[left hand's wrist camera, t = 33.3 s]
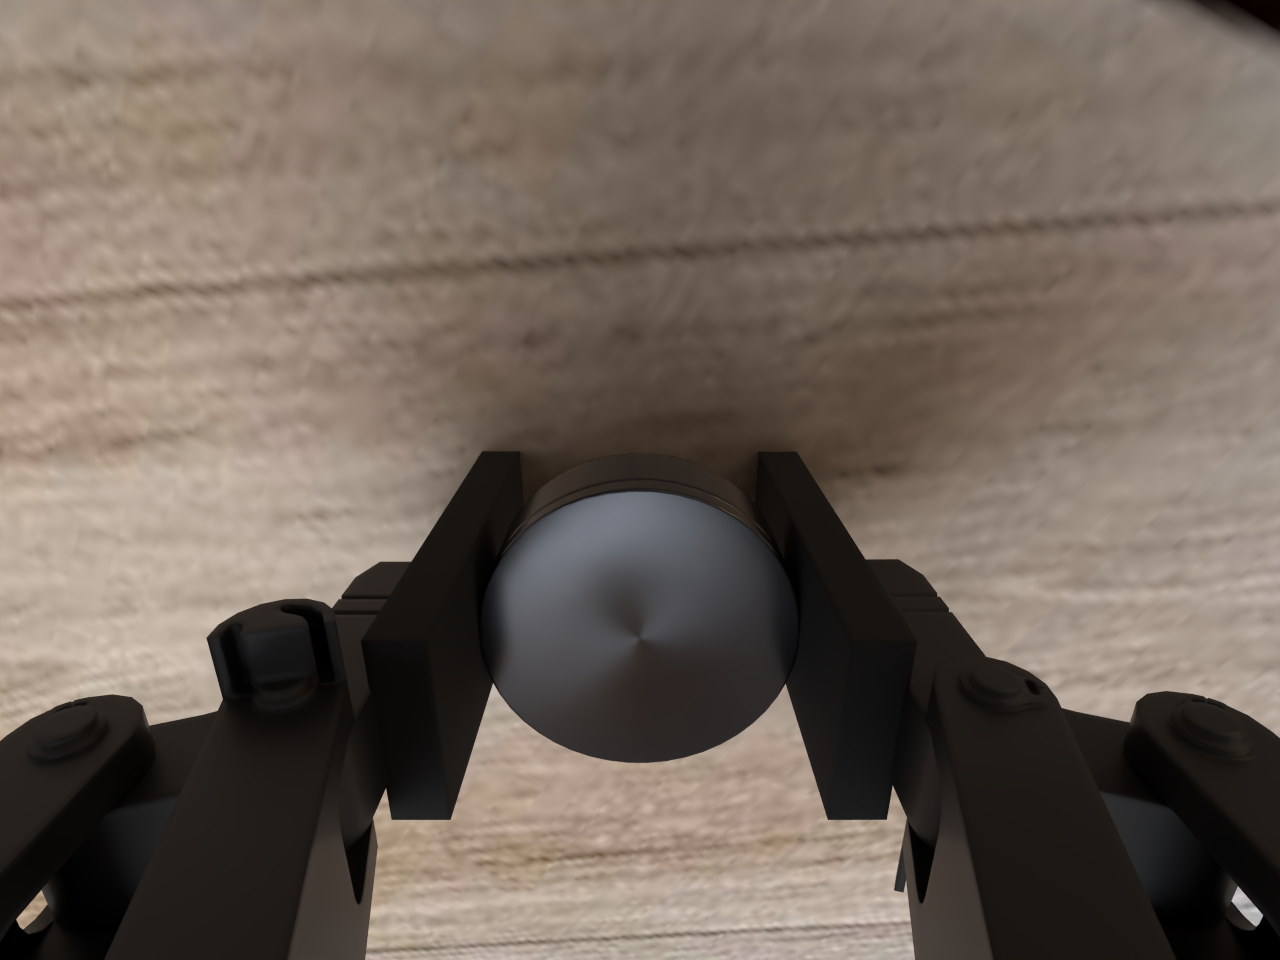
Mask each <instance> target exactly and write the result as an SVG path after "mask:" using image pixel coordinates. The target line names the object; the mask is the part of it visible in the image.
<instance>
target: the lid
mask: <svg viewBox="0 0 1280 960" xmlns="http://www.w3.org/2000/svg"><path fill="white" fill-rule="evenodd" d="M478 627H479V638H480V647H481V651H482V656H483V660H484V663H485V665H486V668H487V670H488V673H489V675H490V678H491V680H492V681H493V683H494V685H495V687H496V688H497V690H498V692H499V694H500V695H501V696H502V697H503V699H504V700H505V701H506V703H507V704H508V705H509V707H510V708H511V709H512V710H513V711H514V712H515V713H516V714H517V715H518V716H519V717H520V718H521V719H522V720H523V721H524V722H525V723H527V724H528V725H529V726H531V727H532V728H533V729H535V730H536V731H537V732H538V733H540V734H542V735H543V736H545V737H547V738H548V739H550V740H552V741H553V742H555V743H557V744H559V745H562V746H564V747H566V748H568V749H570V750H573V751H576V752H579V753H582V754H585V755H588V756H591V757H596V758H600V759H605V760H610V761H618V762H627V763H650V762H661V761H669V760H674V759H679V758H684V757H688V756H691V755H694V754H698V753H701V752H704V751H706V750H709V749H711V748H713V747H716V746H718V745H720V744H722V743H724V742H726V741H727V740H729V739H731V738H733V737H734V736H736V735H738V734H739V733H740V732H742V731H743V730H745V729H746V728H747V727H749V726H750V725H751V724H753V723H754V722H755V721H756V720H757V719H758V718H759V717H760V716H761V715H762V714H763V713H764V712H765V711H766V710H767V709H768V708H769V706H770V705H771V704H772V703H773V702H774V700H775V699H776V698H777V697H778V695H779V693H780V692H781V690H782V688H783V687H784V685H785V684H786V682H787V680H788V677H789V675H790V673H791V671H792V668H793V666H794V663H795V659H796V656H797V652H798V644H799V635H800V608H799V603H798V598H797V593H796V590H795V588H794V585H793V582H792V579H791V577H790V574H789V572H788V569H787V567H786V564H785V562H784V559H783V557H782V554H781V552H780V549H779V547H778V544H777V542H776V539H775V537H774V534H773V532H772V530H771V528H770V526H769V525H768V523H767V521H766V519H765V517H764V516H763V515H762V513H761V512H760V511H759V509H758V508H757V507H756V505H755V504H754V503H753V502H752V501H751V500H750V499H749V498H748V497H747V496H746V495H745V494H744V493H743V492H742V491H741V490H740V489H739V488H738V487H736V486H735V485H734V484H732V483H731V482H730V481H728V480H727V479H726V478H724V477H722V476H721V475H719V474H717V473H715V472H714V471H712V470H710V469H708V468H706V467H703V466H701V465H698V464H696V463H693V462H691V461H687V460H683V459H680V458H676V457H672V456H665V455H658V454H642V453H630V454H621V455H612V456H608V457H604V458H599V459H595V460H591V461H589V462H586V463H584V464H581V465H578V466H576V467H573V468H571V469H569V470H568V471H566V472H564V473H562V474H560V475H558V476H556V477H555V478H554V479H552V480H551V481H549V482H548V483H547V484H545V485H544V486H542V487H541V488H540V489H539V490H538V491H537V492H536V493H535V494H534V495H533V496H532V497H531V498H530V499H528V501H527V502H526V503H525V504H524V506H523V507H522V508H521V509H520V511H519V512H518V513H517V514H516V516H515V518H514V520H513V521H512V523H511V525H510V526H509V528H508V530H507V533H506V535H505V538H504V540H503V543H502V545H501V547H500V550H499V552H498V555H497V557H496V560H495V562H494V565H493V567H492V570H491V572H490V575H489V577H488V580H487V582H486V585H485V587H484V590H483V594H482V598H481V603H480V607H479V620H478Z"/></svg>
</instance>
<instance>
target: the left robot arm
mask: <svg viewBox="0 0 1280 960" xmlns="http://www.w3.org/2000/svg"><path fill="white" fill-rule="evenodd" d="M755 505H756V507H757V508H758V509H759V511H760V512H761V513H762V515H763V516H764V517H765V519H766V521H767V523H768V525H769V526H770V528H771V530H772V532H773V534H774V537H775V539H776V542H777V544H778V547H779V549H780V552H781V554H782V557H783V559H784V562H785V564H786V567H787V569H788V572H789V574H790V577H791V579H792V582H793V585H794V588H795V590H796V593H797V598H798V603H799V608H800V635H799V644H798V652H797V656H796V659H795V663H794V666H793V668H792V671H791V673H790V675H789V677H788V680H787V682H786V686H787V689H788V692H789V695H790V699H791V702H792V705H793V708H794V712H795V715H796V718H797V721H798V725H799V728H800V731H801V734H802V738H803V741H804V744H805V747H806V750H807V754H808V757H809V760H810V763H811V767H812V770H813V773H814V776H815V780H816V783H817V786H818V789H819V792H820V796H821V799H822V802H823V805H824V809H825V812H826V815H827V818H828V820H887V815H888V809H889V803H890V797H891V792H892V786H893V787H894V789H895V791H896V793H897V796H898V798H899V800H900V802H901V805H902V807H903V809H904V812H905V814H906V816H907V821H906V826H905V832H904V837H903V843H902V848H901V853H900V859H899V864H898V869H897V875H896V881H895V888H894V890H895V891H900V892H904V887H905V882H907V891H908V899H909V908H910V917H911V926H912V935H913V944H914V953H915V960H1280V738H1279V737H1278V736H1276V735H1275V734H1274V733H1273V732H1272V731H1270V730H1269V729H1267V728H1266V727H1264V726H1263V725H1261V724H1260V723H1258V722H1257V721H1255V720H1254V719H1253V718H1251V717H1250V716H1248V715H1246V714H1244V713H1242V712H1240V711H1237V710H1235V709H1233V708H1231V707H1229V706H1227V705H1226V704H1224V703H1222V702H1219V701H1216V700H1213V699H1210V698H1208V699H1207V698H1205V697H1203V696H1199V695H1194V694H1187V693H1178V692H1170V691H1164V692H1157V693H1150V694H1146V695H1145V696H1144V697H1142V698H1141V699H1140V700H1139V701H1137V702H1136V705H1135V709H1134V712H1133V715H1132V718H1131V721H1130V723H1129V722H1124V721H1119V720H1114V719H1109V718H1104V717H1099V716H1094V715H1089V714H1084V713H1079V712H1075V711H1071V710H1067V709H1063V708H1061V706H1060V704H1059V702H1058V699H1057V698H1056V696H1055V695H1054V694H1053V693H1052V691H1051V690H1050V689H1049V687H1048V686H1047V685H1046V684H1045V683H1044V682H1042V681H1041V680H1040V679H1038V678H1037V677H1035V676H1034V675H1033V674H1031V673H1030V672H1028V671H1026V670H1024V669H1022V668H1020V667H1017V666H1015V665H1013V664H1010V663H1008V662H1006V661H1002V660H997V659H993V658H989V657H986V656H985V655H984V653H983V652H982V651H981V650H980V648H979V647H978V646H977V644H976V643H975V642H974V640H973V639H972V638H971V637H970V635H969V634H968V633H967V631H966V630H965V629H964V627H963V626H962V625H961V624H960V622H959V621H958V620H957V618H956V617H955V616H954V614H953V613H952V612H949V608H948V607H947V605H946V604H945V603H944V601H943V600H942V599H941V598H940V597H937V592H936V591H935V590H934V588H933V587H932V586H931V585H930V583H929V582H928V581H927V579H926V578H925V577H924V576H923V575H922V574H921V573H919V572H918V571H916V570H914V569H913V568H911V567H910V566H908V565H906V564H905V563H903V562H902V561H900V560H899V559H877V560H865V558H864V556H863V555H862V553H861V552H860V550H859V549H858V547H857V545H856V544H855V542H854V541H853V539H852V538H851V536H850V535H849V533H848V531H847V530H846V528H845V527H844V525H843V524H842V522H841V521H840V519H839V517H838V516H837V514H836V513H835V511H834V510H833V508H832V506H831V505H830V503H829V502H828V500H827V499H826V497H825V496H824V494H823V492H822V491H821V489H820V488H819V486H818V485H817V483H816V482H815V480H814V478H813V477H812V475H811V474H810V472H809V471H808V469H807V467H806V466H805V464H804V463H803V461H802V460H801V458H800V457H799V455H798V453H797V452H759V458H758V473H757V488H756V502H755ZM522 507H523V493H522V478H521V463H520V452H482V453H481V454H480V456H479V457H478V459H477V461H476V462H475V464H474V465H473V467H472V468H471V470H470V471H469V473H468V475H467V476H466V478H465V479H464V481H463V482H462V484H461V485H460V487H459V489H458V490H457V492H456V493H455V495H454V496H453V498H452V499H451V501H450V503H449V504H448V506H447V507H446V509H445V510H444V512H443V513H442V515H441V517H440V518H439V520H438V521H437V523H436V524H435V526H434V527H433V529H432V531H431V532H430V534H429V535H428V537H427V538H426V540H425V541H424V543H423V545H422V546H421V548H420V549H419V551H418V552H417V554H416V555H415V557H414V559H413V560H412V562H379V563H378V564H376V565H374V566H373V567H371V568H370V569H368V570H367V571H365V572H363V573H362V574H360V575H359V576H357V577H356V578H355V579H354V580H353V582H352V583H351V584H350V585H349V587H348V588H347V589H346V591H345V592H344V593H343V595H342V599H339V600H338V601H337V602H336V604H335V605H334V606H333V608H330V607H329V606H328V605H327V604H325V603H324V602H319V601H315V600H310V599H284V600H279V601H274V602H269V603H264V604H260V605H258V606H255V607H252V608H250V609H247V610H244V611H242V612H239V613H237V614H235V615H234V616H232V617H230V618H229V619H227V620H225V621H224V622H222V623H221V624H219V625H218V626H217V627H216V628H215V629H214V630H213V631H212V632H211V634H210V635H209V636H208V637H207V641H208V645H209V649H210V652H211V656H212V660H213V664H214V667H215V671H216V675H217V678H218V682H219V686H220V690H221V693H222V697H223V701H222V703H221V705H220V707H219V709H218V711H216V712H212V713H208V714H205V715H200V716H195V717H190V718H185V719H181V720H176V721H171V722H166V723H161V724H156V725H151V726H149V724H148V721H147V718H146V715H145V712H144V709H143V706H142V705H141V704H140V703H139V702H137V701H136V700H135V699H133V698H132V697H127V696H120V695H104V696H96V697H87V698H83V699H78V700H74V702H71V701H70V702H67V703H64V704H62V705H59V706H56V707H54V708H53V709H51V710H49V711H47V712H45V713H43V714H41V715H39V716H36V717H34V718H32V719H30V720H29V721H27V722H26V723H24V724H23V725H22V726H20V727H19V728H17V729H16V730H14V731H13V732H11V733H10V734H8V735H7V736H6V737H5V738H3V739H2V740H1V741H0V960H365V955H366V946H367V937H368V928H369V919H370V910H371V901H372V892H373V883H374V874H375V865H376V856H377V848H378V845H377V839H376V832H375V826H374V821H373V816H374V814H375V812H376V809H377V807H378V805H379V802H380V800H381V798H382V796H383V793H384V791H385V789H387V795H388V801H389V807H390V812H391V818H392V820H451V817H452V813H453V810H454V807H455V804H456V801H457V797H458V794H459V791H460V788H461V784H462V781H463V778H464V775H465V771H466V768H467V765H468V762H469V759H470V755H471V752H472V749H473V746H474V742H475V739H476V736H477V733H478V730H479V726H480V723H481V720H482V717H483V713H484V710H485V707H486V704H487V701H488V697H489V694H490V691H491V688H492V684H493V681H492V680H491V678H490V675H489V673H488V670H487V668H486V665H485V663H484V660H483V656H482V651H481V647H480V638H479V627H478V620H479V607H480V603H481V598H482V594H483V590H484V587H485V585H486V582H487V580H488V577H489V575H490V572H491V570H492V567H493V565H494V562H495V560H496V557H497V555H498V552H499V550H500V547H501V545H502V543H503V540H504V538H505V535H506V533H507V530H508V528H509V526H510V525H511V523H512V521H513V520H514V518H515V516H516V514H517V513H518V512H519V511H520V509H521V508H522ZM1237 887H1239V888H1240V889H1241V890H1242V891H1243V892H1244V893H1245V895H1246V896H1247V897H1248V898H1249V899H1250V900H1251V901H1252V903H1253V904H1254V905H1255V906H1256V907H1257V908H1258V910H1259V911H1260V912H1261V913H1262V914H1263V917H1262V920H1261V922H1260V924H1259V925H1258V926H1257V927H1256V926H1254V925H1253V924H1252V923H1251V922H1250V921H1249V920H1248V919H1247V918H1245V917H1244V916H1243V915H1242V913H1241V912H1240V911H1239V910H1238V909H1237V907H1236V906H1235V905H1234V904H1233V903H1232V898H1233V896H1234V894H1235V891H1236V889H1237ZM41 890H42V892H43V894H44V897H45V899H46V901H47V903H48V905H47V906H46V907H45V908H44V910H43V911H42V912H41V913H40V914H39V916H38V917H37V918H36V919H35V920H34V921H33V922H32V923H30V924H29V925H28V926H27V927H26V928H25V929H21V928H20V927H19V925H18V923H17V920H16V919H17V917H18V916H19V915H20V914H21V913H22V912H23V910H24V909H25V908H26V907H27V906H28V905H29V904H30V902H31V901H32V900H33V899H34V898H35V897H36V895H37V894H38V893H39V892H40V891H41Z"/></svg>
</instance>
